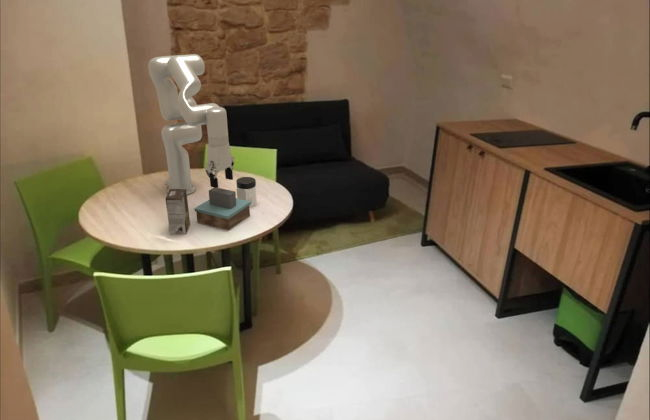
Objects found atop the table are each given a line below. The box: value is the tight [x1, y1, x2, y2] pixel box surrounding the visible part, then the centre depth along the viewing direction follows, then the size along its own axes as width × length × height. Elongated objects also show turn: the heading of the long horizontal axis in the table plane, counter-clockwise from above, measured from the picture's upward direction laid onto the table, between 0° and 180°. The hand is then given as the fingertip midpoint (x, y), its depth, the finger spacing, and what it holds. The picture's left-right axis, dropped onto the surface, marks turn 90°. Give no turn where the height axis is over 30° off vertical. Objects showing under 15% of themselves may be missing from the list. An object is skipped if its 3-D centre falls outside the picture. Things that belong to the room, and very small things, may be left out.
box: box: [195, 206, 251, 231], centre depth 198 cm, size 15×15×6 cm
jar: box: [236, 176, 257, 208], centre depth 210 cm, size 9×8×12 cm
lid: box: [193, 187, 251, 219], centre depth 195 cm, size 16×16×7 cm
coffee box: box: [165, 189, 191, 235], centre depth 187 cm, size 9×6×16 cm
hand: (222, 183), depth 192 cm, fingers open, 9 cm apart
